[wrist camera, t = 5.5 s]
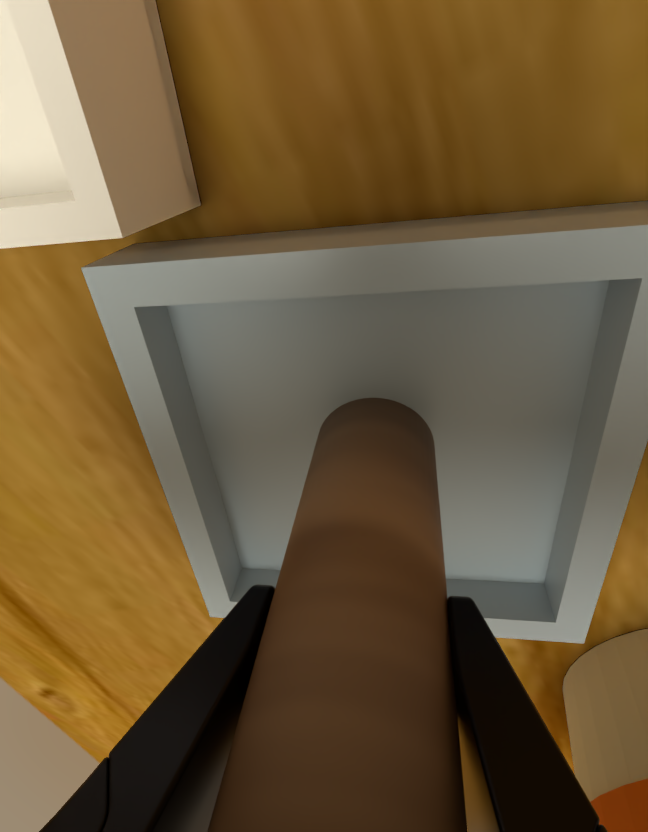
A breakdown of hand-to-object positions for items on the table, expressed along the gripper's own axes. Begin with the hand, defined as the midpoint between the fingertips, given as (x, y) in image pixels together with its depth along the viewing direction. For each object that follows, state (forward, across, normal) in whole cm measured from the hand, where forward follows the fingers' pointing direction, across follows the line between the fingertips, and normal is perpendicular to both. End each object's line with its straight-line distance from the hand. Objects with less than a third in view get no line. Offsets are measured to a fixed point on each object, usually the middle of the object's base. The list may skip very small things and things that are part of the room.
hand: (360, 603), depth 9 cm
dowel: (+5, 0, 0) cm, 5 cm away
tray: (+7, 0, +1) cm, 7 cm away
